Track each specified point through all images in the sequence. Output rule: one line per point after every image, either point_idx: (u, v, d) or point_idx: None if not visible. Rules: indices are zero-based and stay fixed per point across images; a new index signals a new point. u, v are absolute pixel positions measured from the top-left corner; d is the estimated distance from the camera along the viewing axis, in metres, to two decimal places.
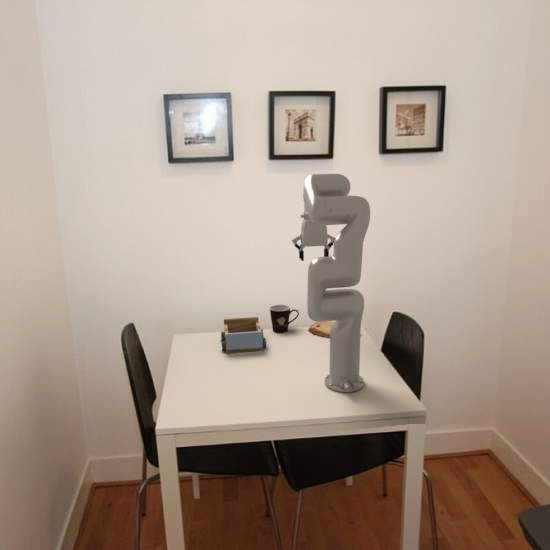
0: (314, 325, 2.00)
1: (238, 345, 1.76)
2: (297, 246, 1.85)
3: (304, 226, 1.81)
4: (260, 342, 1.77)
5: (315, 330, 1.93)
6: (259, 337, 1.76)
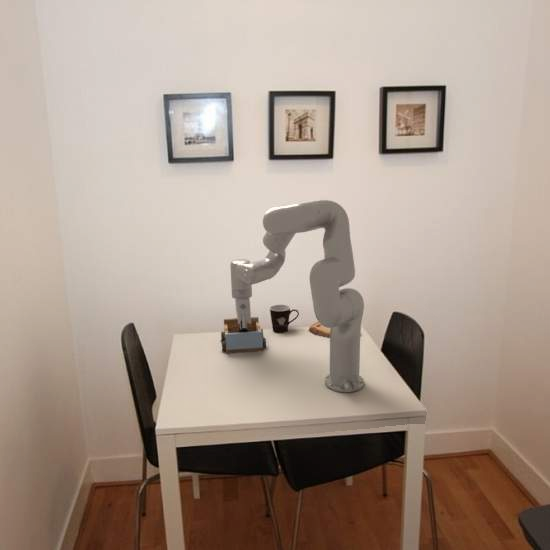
0: (314, 325, 2.00)
1: (238, 345, 1.76)
2: None
3: (249, 303, 1.72)
4: (260, 342, 1.77)
5: (315, 330, 1.93)
6: (259, 337, 1.76)
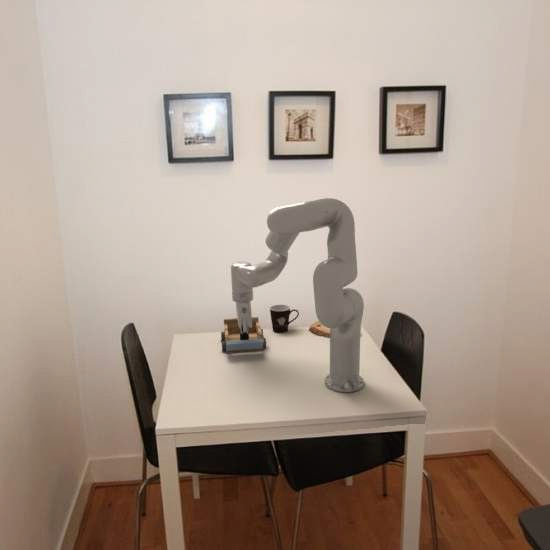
0: (315, 325, 2.00)
1: (238, 348, 1.75)
2: None
3: (250, 307, 1.68)
4: (261, 346, 1.76)
5: (315, 329, 1.93)
6: (260, 344, 1.74)
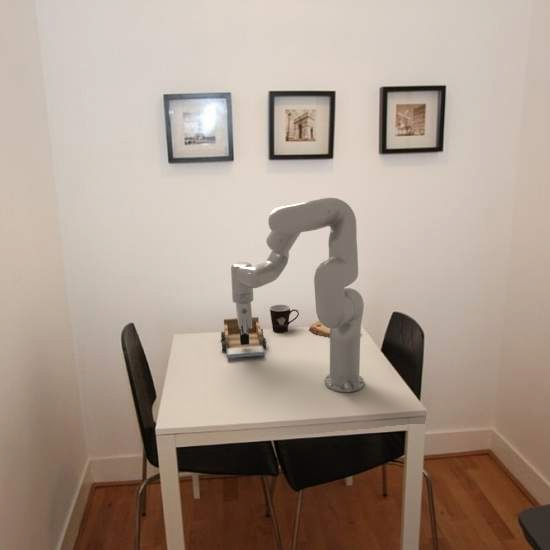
0: (315, 324, 2.00)
1: None
2: None
3: (250, 308, 1.67)
4: None
5: (315, 329, 1.94)
6: None
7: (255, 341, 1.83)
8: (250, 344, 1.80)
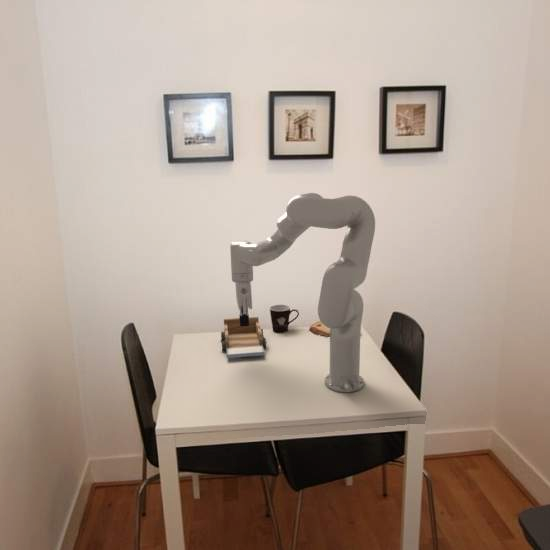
0: (315, 324, 2.01)
1: None
2: None
3: (250, 288, 1.62)
4: None
5: (315, 329, 1.94)
6: None
7: (255, 341, 1.83)
8: (250, 344, 1.80)
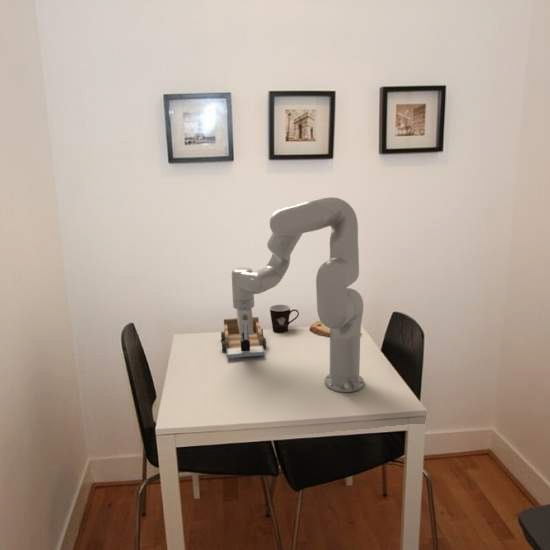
0: (315, 324, 2.01)
1: None
2: None
3: (251, 314, 1.64)
4: None
5: (315, 329, 1.94)
6: None
7: (255, 341, 1.83)
8: (250, 344, 1.80)
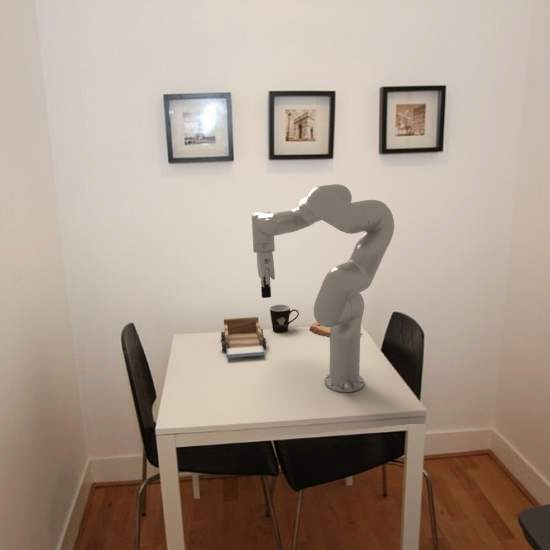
0: (315, 324, 2.01)
1: None
2: None
3: (272, 258, 1.63)
4: None
5: (316, 329, 1.94)
6: None
7: (255, 341, 1.83)
8: (250, 344, 1.80)
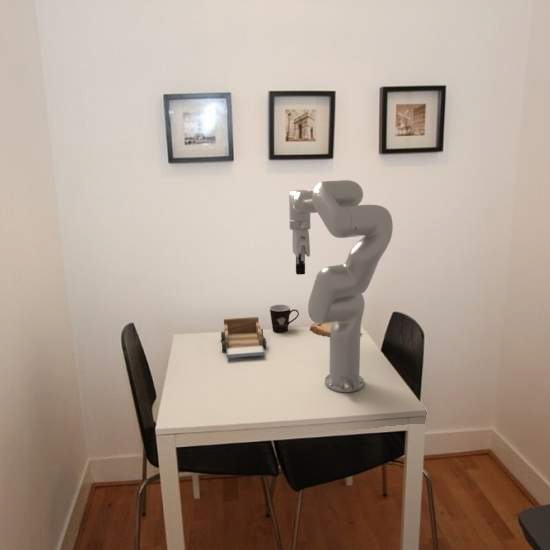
0: (316, 324, 2.01)
1: None
2: None
3: (308, 235, 1.67)
4: None
5: (316, 329, 1.94)
6: None
7: (255, 341, 1.83)
8: (250, 344, 1.80)
